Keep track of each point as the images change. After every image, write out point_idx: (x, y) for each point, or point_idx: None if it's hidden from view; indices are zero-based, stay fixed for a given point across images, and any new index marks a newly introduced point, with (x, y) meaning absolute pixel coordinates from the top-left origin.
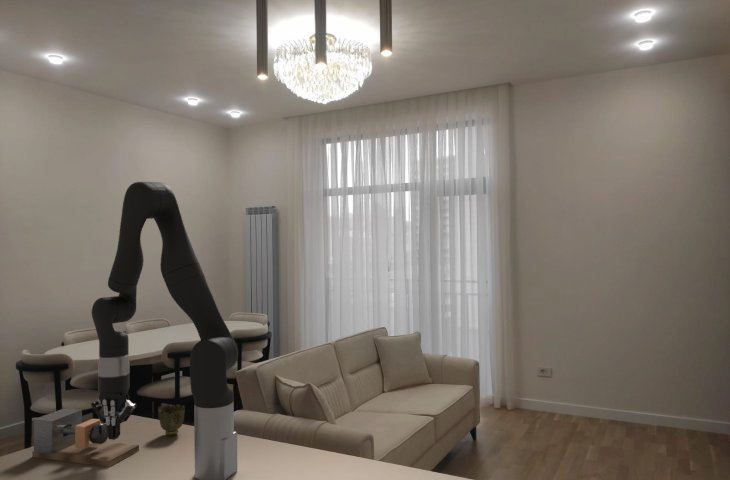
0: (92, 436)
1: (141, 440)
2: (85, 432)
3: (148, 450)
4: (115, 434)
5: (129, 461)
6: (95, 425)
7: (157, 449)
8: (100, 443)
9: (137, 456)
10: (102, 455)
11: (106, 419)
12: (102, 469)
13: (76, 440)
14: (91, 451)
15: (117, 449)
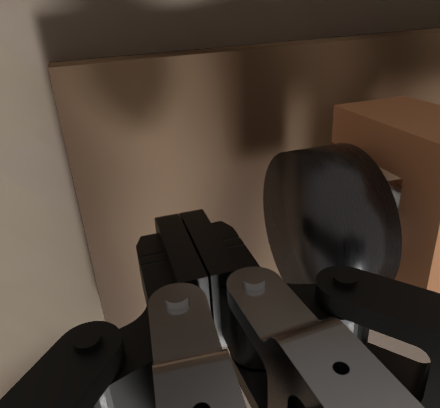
0: (328, 151)
1: None
2: (409, 143)
3: (58, 335)
4: (146, 249)
5: (8, 184)
6: (388, 234)
7: (21, 366)
8: (265, 181)
9: (36, 257)
10: (186, 124)
11: (290, 302)
12: (58, 7)
13: (430, 105)
14: (304, 146)
15: None
